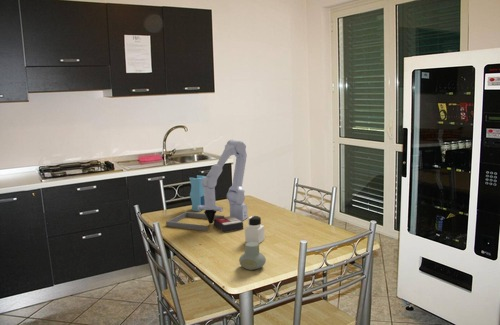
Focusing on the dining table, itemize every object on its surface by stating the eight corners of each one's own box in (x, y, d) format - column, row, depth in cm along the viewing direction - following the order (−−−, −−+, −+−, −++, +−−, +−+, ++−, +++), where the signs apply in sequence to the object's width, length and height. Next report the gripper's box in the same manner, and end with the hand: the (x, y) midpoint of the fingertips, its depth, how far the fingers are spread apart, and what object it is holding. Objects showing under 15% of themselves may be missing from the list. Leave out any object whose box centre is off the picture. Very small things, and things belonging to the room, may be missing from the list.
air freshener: (236, 269, 188) (235, 246, 186) (244, 261, 195) (243, 239, 194) (261, 272, 184) (261, 249, 182) (268, 264, 192) (267, 242, 190)
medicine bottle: (264, 239, 222) (264, 215, 220) (258, 244, 216) (258, 219, 214) (251, 237, 225) (250, 214, 223) (245, 242, 219) (244, 218, 217)
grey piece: (224, 220, 255) (224, 215, 255) (206, 231, 238) (206, 226, 237) (186, 215, 266) (186, 211, 265) (166, 226, 248) (166, 221, 248)
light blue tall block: (199, 206, 285) (197, 175, 281) (208, 208, 280) (207, 176, 277) (190, 209, 278) (188, 177, 275) (200, 211, 274) (198, 178, 270)
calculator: (232, 215, 252) (243, 220, 239) (232, 222, 253) (243, 228, 239) (213, 218, 248) (223, 224, 234) (213, 226, 248) (224, 232, 235)
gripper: (194, 199, 245) (195, 223, 247) (218, 201, 239) (219, 226, 241) (201, 196, 251) (202, 220, 253) (224, 198, 245) (225, 222, 247)
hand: (210, 223), depth 248 cm, fingers closed
